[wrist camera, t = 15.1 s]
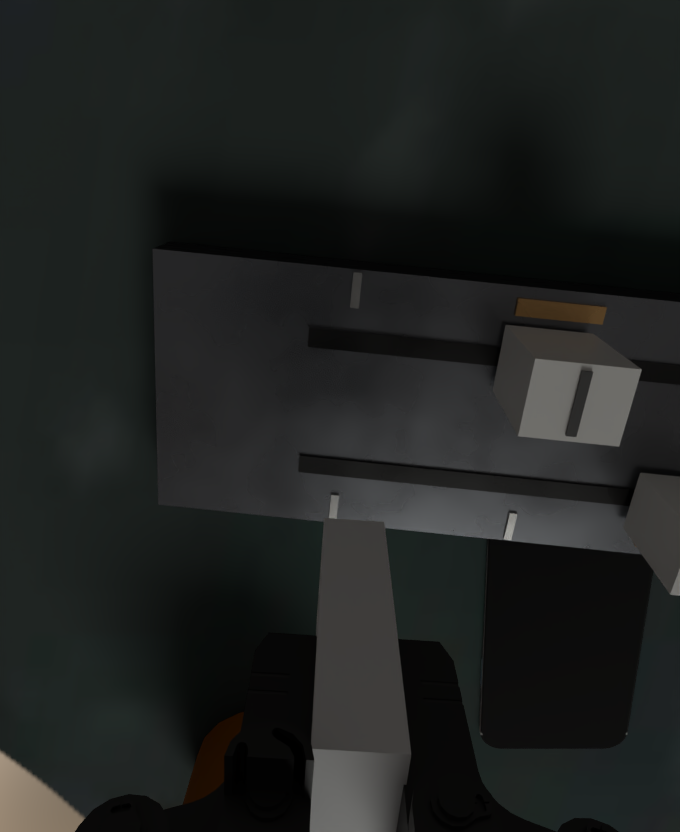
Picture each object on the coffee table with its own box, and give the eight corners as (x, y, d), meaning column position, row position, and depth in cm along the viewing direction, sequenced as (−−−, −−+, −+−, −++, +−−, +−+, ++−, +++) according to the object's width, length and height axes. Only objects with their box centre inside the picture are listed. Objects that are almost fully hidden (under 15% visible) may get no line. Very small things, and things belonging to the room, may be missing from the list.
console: (173, 480, 26) (141, 531, 23) (170, 241, 23) (131, 256, 19) (822, 547, 26) (896, 610, 23) (928, 318, 22) (1039, 348, 19)
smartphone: (669, 483, 25) (626, 749, 31) (661, 475, 26) (621, 737, 31) (489, 487, 26) (478, 749, 31) (486, 480, 26) (476, 737, 32)
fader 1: (492, 390, 22) (518, 437, 18) (505, 324, 21) (536, 359, 17) (576, 399, 22) (620, 447, 18) (593, 333, 21) (643, 370, 17)
